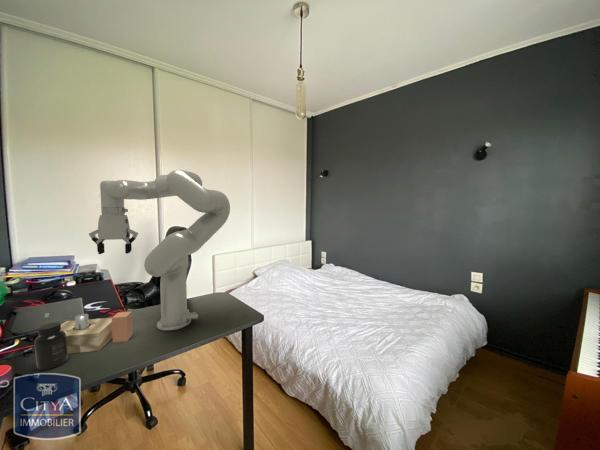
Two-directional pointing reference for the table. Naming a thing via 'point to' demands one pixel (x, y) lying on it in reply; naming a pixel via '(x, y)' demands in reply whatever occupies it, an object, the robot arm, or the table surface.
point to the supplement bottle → (50, 346)
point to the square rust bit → (122, 326)
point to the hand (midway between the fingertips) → (114, 253)
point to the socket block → (88, 335)
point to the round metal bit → (81, 321)
